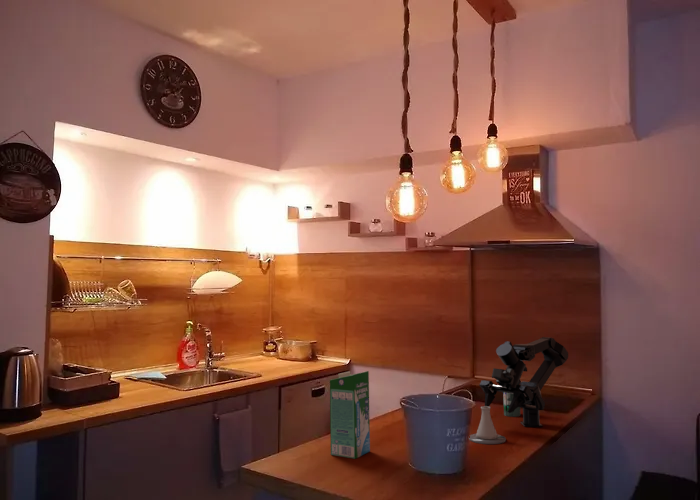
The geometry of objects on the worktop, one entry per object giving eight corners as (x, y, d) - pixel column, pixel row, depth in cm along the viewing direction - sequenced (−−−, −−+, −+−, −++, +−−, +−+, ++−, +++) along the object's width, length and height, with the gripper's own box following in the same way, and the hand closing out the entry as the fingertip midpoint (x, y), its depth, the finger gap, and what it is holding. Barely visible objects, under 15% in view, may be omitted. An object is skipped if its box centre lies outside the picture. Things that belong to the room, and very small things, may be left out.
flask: (471, 437, 184) (470, 407, 185) (482, 433, 189) (481, 404, 190) (491, 441, 179) (490, 410, 180) (501, 436, 185) (500, 406, 185)
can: (501, 413, 222) (500, 376, 223) (515, 413, 223) (514, 375, 225) (508, 417, 216) (507, 378, 218) (523, 416, 217) (521, 377, 219)
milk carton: (345, 447, 177) (344, 368, 179) (370, 451, 172) (368, 370, 174) (330, 454, 169) (329, 372, 171) (355, 459, 164) (354, 374, 166)
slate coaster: (466, 434, 190) (466, 433, 190) (501, 434, 190) (501, 433, 190) (472, 444, 178) (471, 442, 178) (509, 444, 178) (509, 442, 178)
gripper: (481, 357, 200) (463, 392, 192) (527, 361, 187) (511, 399, 179) (494, 376, 205) (478, 411, 197) (540, 381, 191) (525, 420, 183)
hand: (496, 410), depth 189 cm, fingers open, 9 cm apart
